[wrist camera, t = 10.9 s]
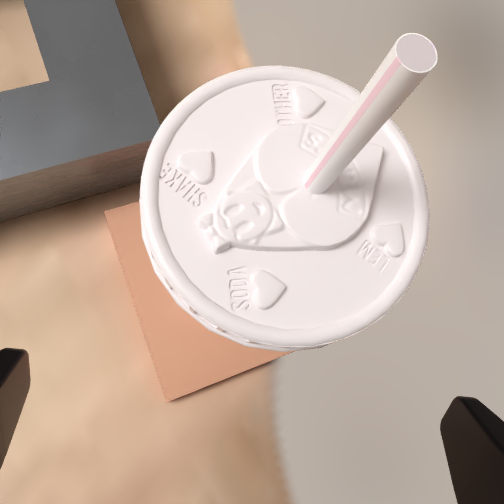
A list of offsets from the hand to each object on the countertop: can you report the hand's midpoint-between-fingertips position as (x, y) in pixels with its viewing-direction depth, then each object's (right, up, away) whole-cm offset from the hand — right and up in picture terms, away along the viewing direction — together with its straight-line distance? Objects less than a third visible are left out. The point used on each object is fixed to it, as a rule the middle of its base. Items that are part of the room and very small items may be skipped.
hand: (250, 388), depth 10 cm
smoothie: (-1, +2, +10) cm, 10 cm away
